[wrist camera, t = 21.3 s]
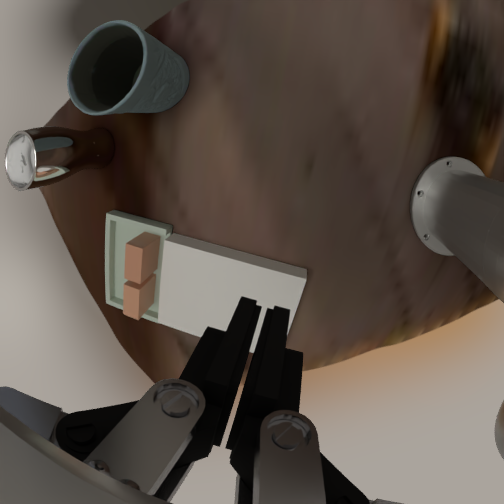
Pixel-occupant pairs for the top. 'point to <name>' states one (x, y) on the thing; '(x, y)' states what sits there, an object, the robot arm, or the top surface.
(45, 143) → the beer glass
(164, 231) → the tray
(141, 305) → the far tile
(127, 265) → the near tile
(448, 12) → the top surface
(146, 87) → the grey cup
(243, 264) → the white slab
